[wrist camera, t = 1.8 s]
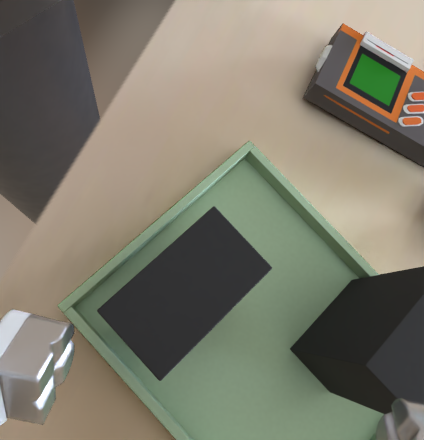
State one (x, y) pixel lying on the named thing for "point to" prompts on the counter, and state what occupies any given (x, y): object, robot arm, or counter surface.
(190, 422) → the assembly tray
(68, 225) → the counter surface
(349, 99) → the electronic device
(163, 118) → the counter surface
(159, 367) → the black block
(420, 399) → the black rectangular block
